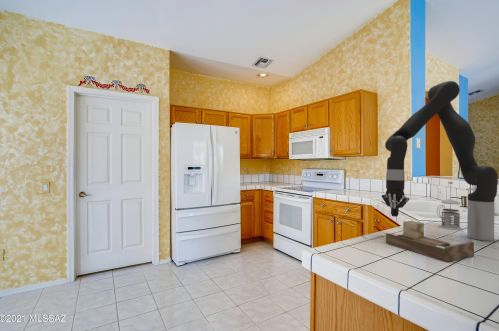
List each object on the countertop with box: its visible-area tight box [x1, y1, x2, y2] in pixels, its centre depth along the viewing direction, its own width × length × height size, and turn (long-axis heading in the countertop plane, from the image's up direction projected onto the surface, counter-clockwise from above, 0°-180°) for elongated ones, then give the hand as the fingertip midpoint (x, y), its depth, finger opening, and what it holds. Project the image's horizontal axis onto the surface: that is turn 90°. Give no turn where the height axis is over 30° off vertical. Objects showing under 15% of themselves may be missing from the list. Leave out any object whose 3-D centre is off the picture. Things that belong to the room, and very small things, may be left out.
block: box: [402, 220, 425, 239], centre depth 112 cm, size 6×6×6 cm
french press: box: [436, 181, 463, 231], centre depth 138 cm, size 10×12×25 cm
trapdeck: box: [385, 232, 475, 263], centre depth 103 cm, size 16×24×5 cm, turn 24°
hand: (394, 216), depth 120 cm, fingers closed
